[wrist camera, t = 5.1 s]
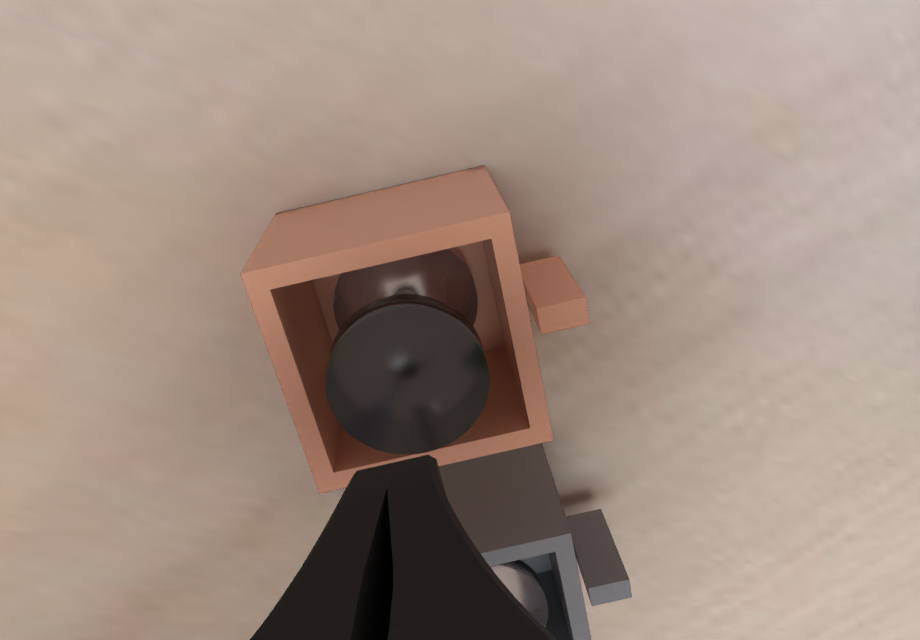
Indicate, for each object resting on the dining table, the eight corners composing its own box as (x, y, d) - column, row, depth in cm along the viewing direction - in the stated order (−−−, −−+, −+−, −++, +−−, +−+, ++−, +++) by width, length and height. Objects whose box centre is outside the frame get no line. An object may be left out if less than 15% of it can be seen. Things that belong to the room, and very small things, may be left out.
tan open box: (567, 342, 23) (609, 427, 18) (335, 395, 23) (319, 493, 18) (534, 153, 20) (575, 196, 16) (275, 213, 20) (240, 274, 16)
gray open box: (604, 560, 26) (647, 677, 22) (404, 605, 26) (405, 731, 22) (580, 422, 24) (624, 521, 19) (360, 472, 24) (351, 582, 19)
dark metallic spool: (487, 343, 21) (513, 440, 17) (356, 374, 22) (344, 478, 17) (459, 215, 20) (478, 281, 15) (317, 248, 20) (292, 324, 15)
